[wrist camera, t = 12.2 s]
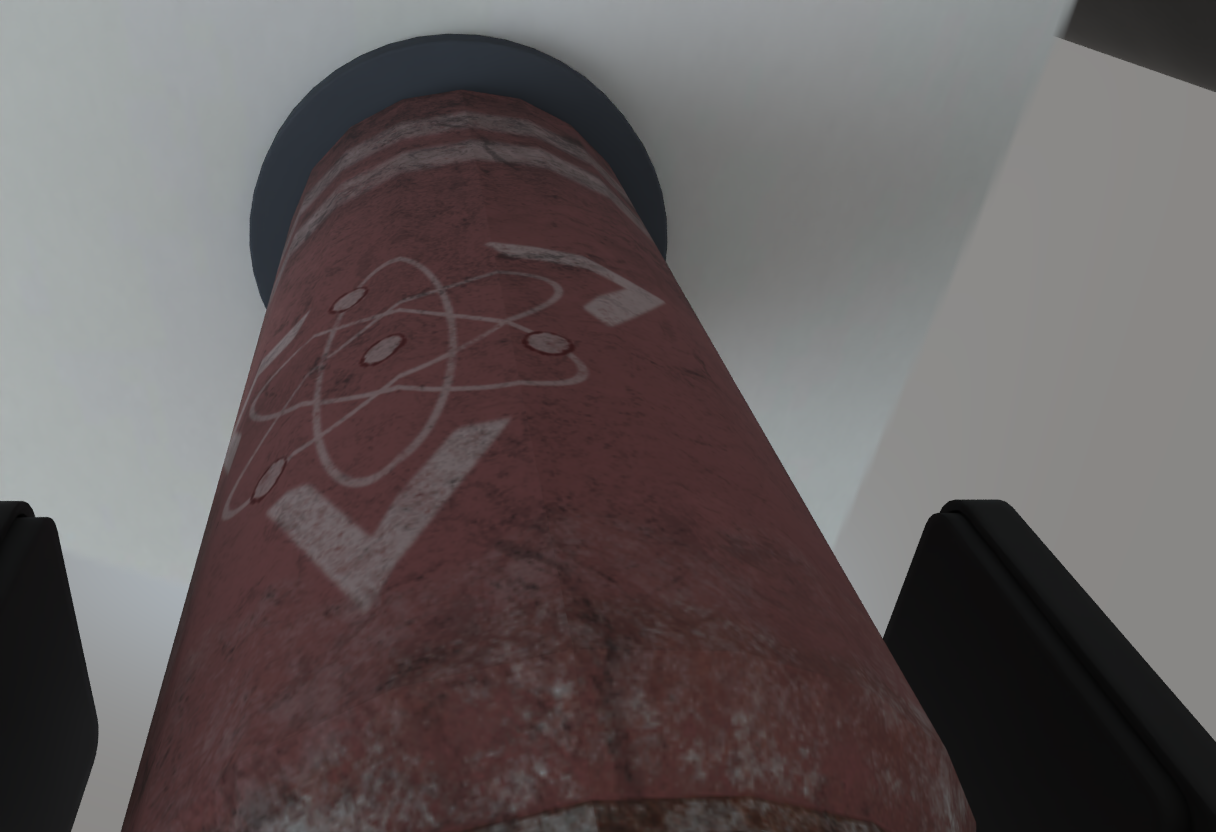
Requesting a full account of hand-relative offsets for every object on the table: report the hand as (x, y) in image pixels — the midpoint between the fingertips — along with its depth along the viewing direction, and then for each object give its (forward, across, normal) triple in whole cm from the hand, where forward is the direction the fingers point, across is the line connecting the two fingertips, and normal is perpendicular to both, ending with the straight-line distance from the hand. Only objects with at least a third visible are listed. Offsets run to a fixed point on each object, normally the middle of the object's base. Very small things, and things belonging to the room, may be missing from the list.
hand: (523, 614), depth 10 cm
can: (+10, 0, 0) cm, 10 cm away
